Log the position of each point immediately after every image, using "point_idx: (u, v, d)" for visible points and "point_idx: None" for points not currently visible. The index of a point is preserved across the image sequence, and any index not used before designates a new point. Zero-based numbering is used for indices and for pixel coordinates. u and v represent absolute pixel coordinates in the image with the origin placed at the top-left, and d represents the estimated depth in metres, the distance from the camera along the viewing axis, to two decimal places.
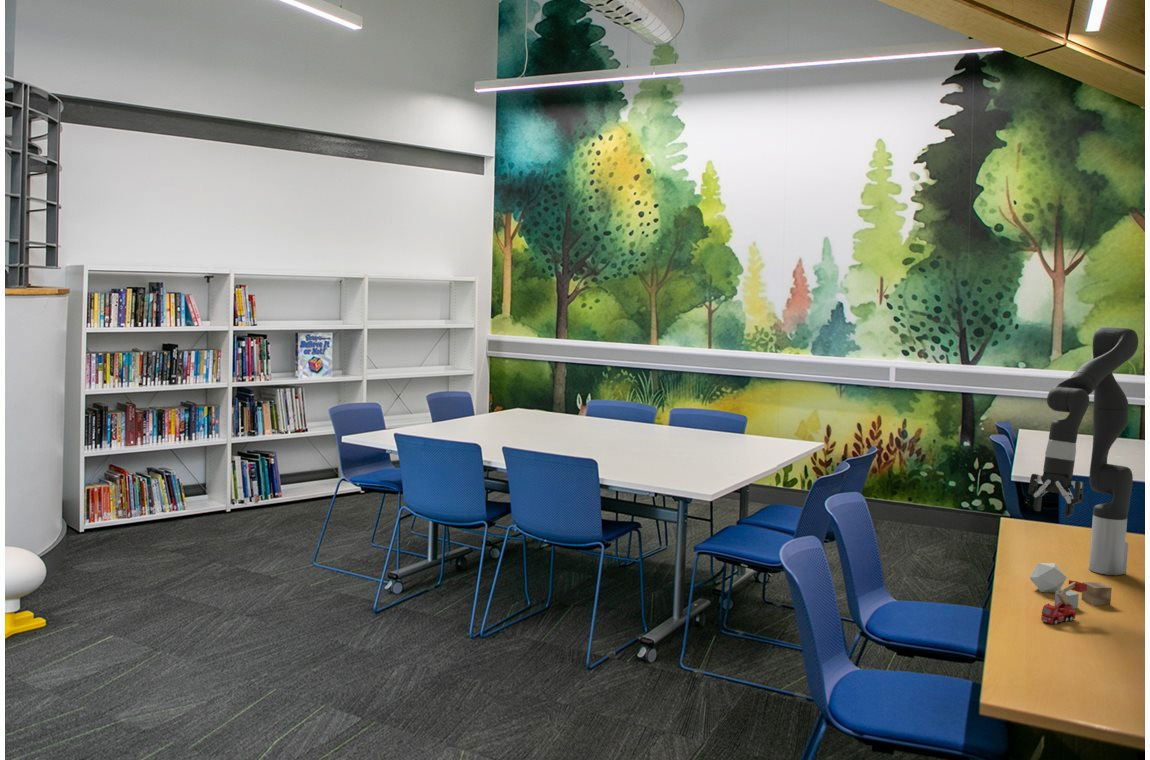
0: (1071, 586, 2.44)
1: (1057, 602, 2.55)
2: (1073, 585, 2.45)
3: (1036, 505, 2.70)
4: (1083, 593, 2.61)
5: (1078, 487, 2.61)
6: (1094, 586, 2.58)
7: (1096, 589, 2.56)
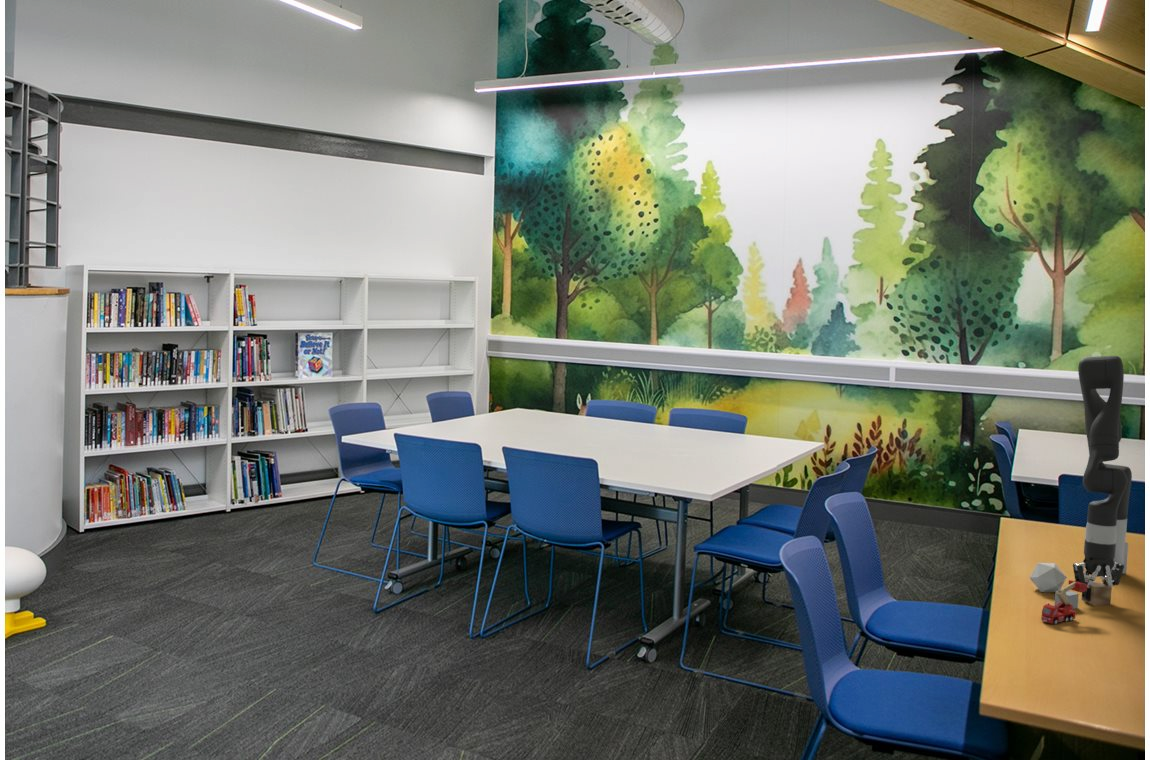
0: (1071, 586, 2.44)
1: (1057, 602, 2.55)
2: (1073, 585, 2.45)
3: (1089, 595, 2.58)
4: None
5: (1121, 570, 2.58)
6: (1094, 586, 2.58)
7: (1096, 589, 2.56)
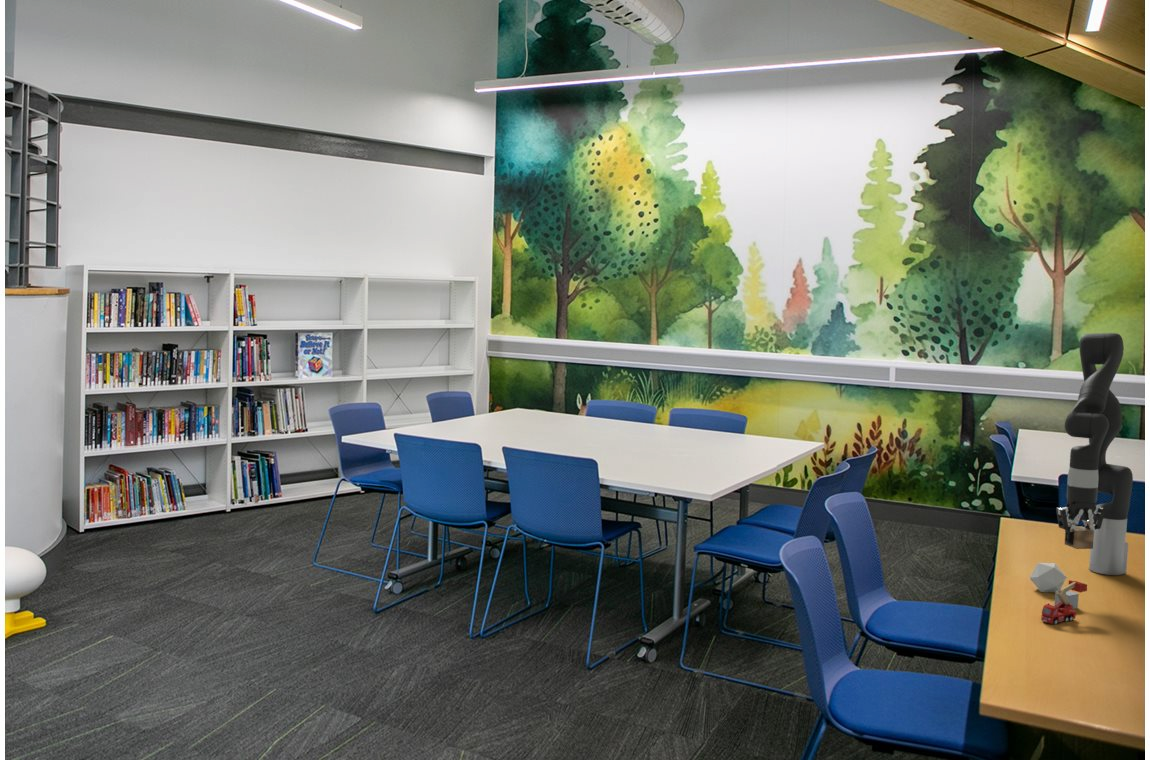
0: (1071, 586, 2.44)
1: (1057, 602, 2.55)
2: (1073, 585, 2.45)
3: (1072, 539, 2.61)
4: None
5: (1103, 514, 2.62)
6: (1077, 530, 2.61)
7: (1079, 532, 2.60)
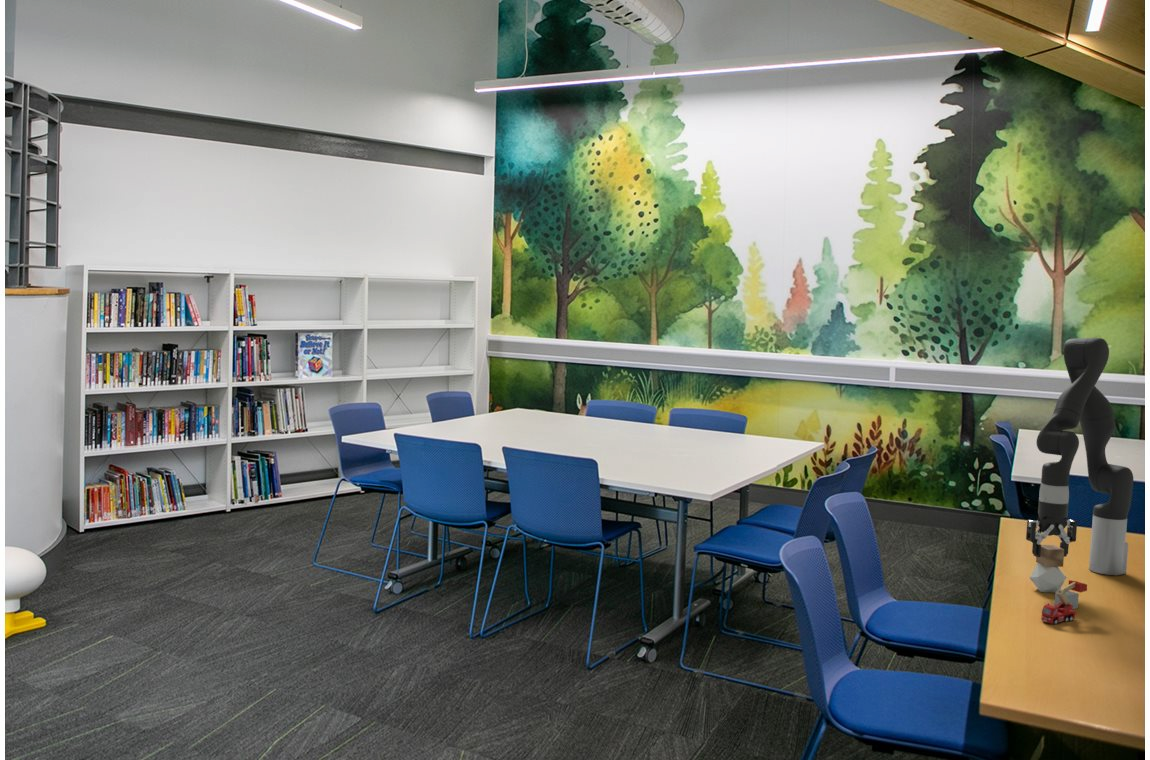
0: (1071, 586, 2.44)
1: (1057, 602, 2.55)
2: (1073, 585, 2.45)
3: (1039, 552, 2.67)
4: None
5: (1075, 527, 2.68)
6: (1047, 548, 2.67)
7: (1049, 551, 2.66)
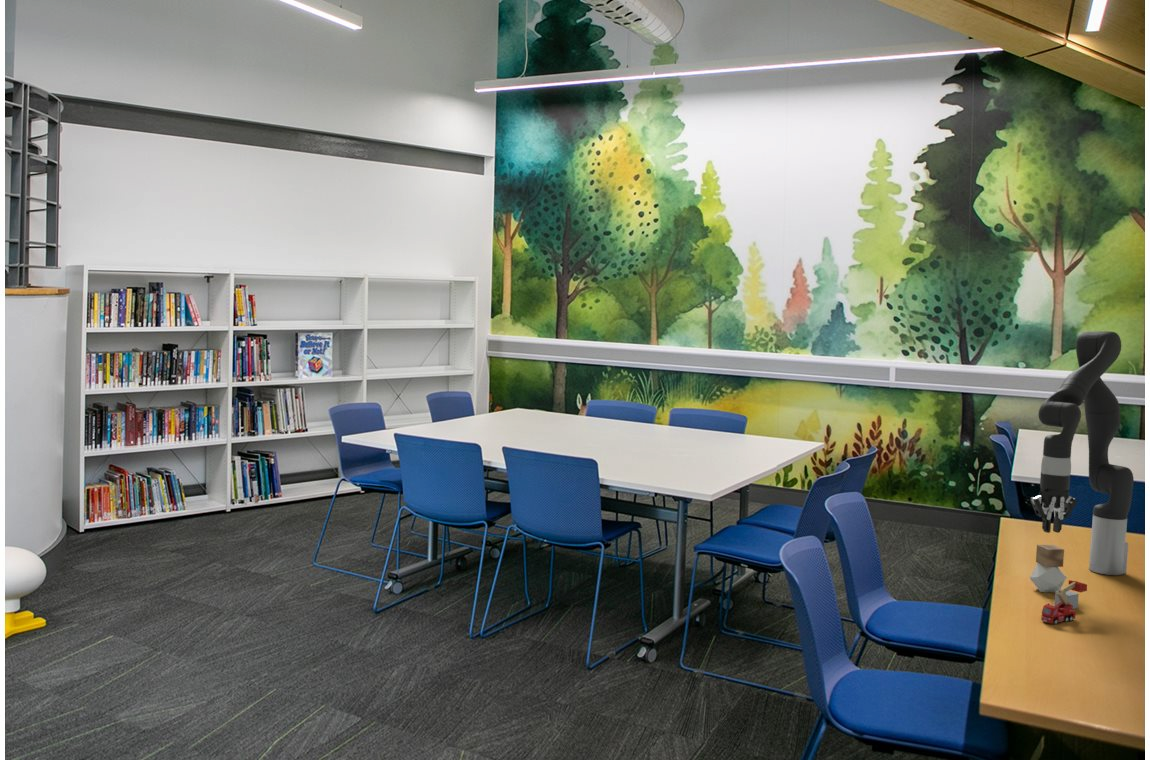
0: (1071, 586, 2.44)
1: (1057, 602, 2.55)
2: (1073, 585, 2.45)
3: (1049, 527, 2.67)
4: (1037, 555, 2.70)
5: (1074, 504, 2.67)
6: (1047, 548, 2.67)
7: (1049, 551, 2.66)
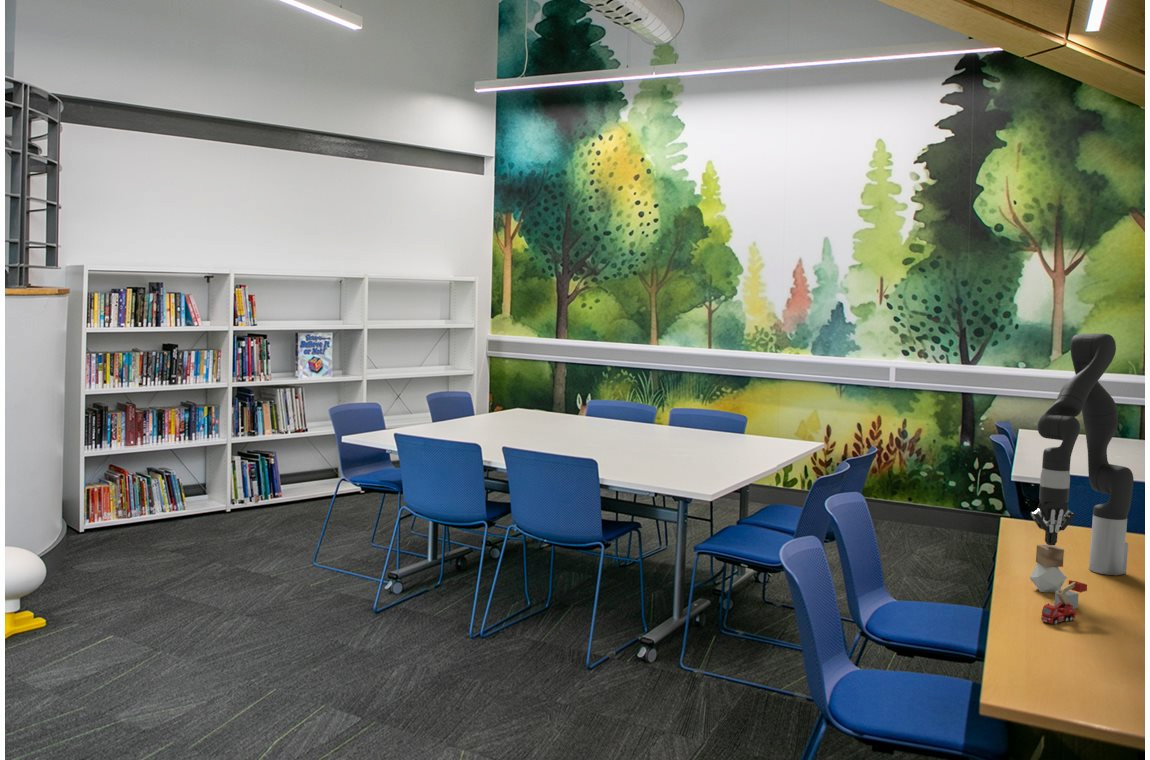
0: (1071, 586, 2.44)
1: (1057, 602, 2.55)
2: (1073, 585, 2.45)
3: (1052, 540, 2.67)
4: (1037, 555, 2.70)
5: (1071, 519, 2.67)
6: (1047, 548, 2.67)
7: (1049, 551, 2.66)
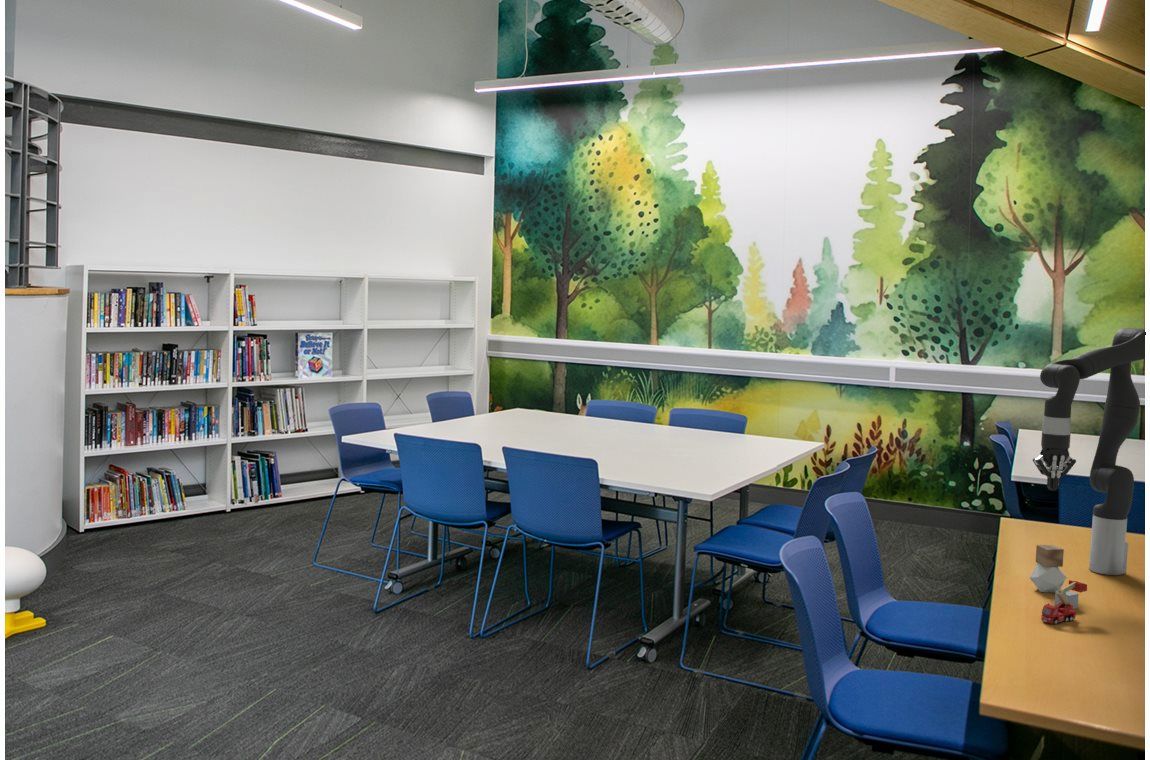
0: (1071, 586, 2.44)
1: (1057, 602, 2.55)
2: (1073, 585, 2.45)
3: (1054, 485, 2.78)
4: (1037, 555, 2.70)
5: (1072, 465, 2.78)
6: (1047, 548, 2.67)
7: (1048, 551, 2.66)
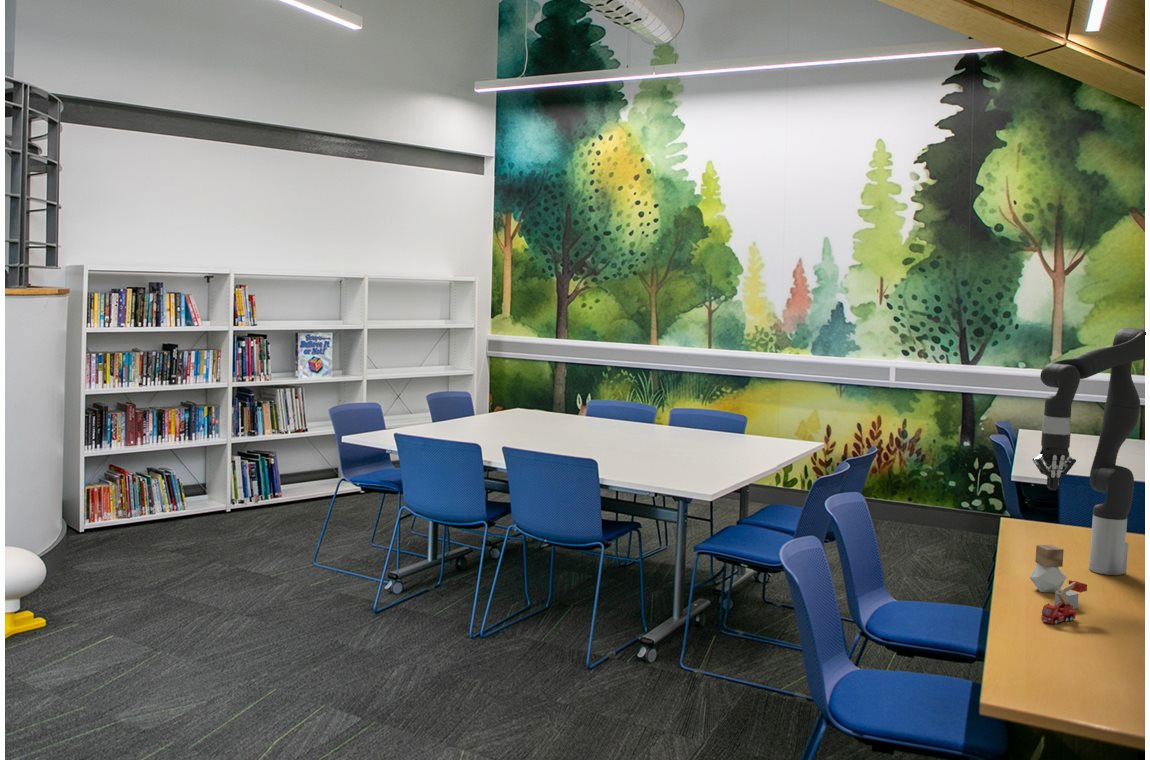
0: (1071, 586, 2.44)
1: (1057, 602, 2.55)
2: (1073, 585, 2.45)
3: (1054, 484, 2.78)
4: (1037, 555, 2.70)
5: (1072, 464, 2.78)
6: (1047, 548, 2.67)
7: (1048, 551, 2.66)
